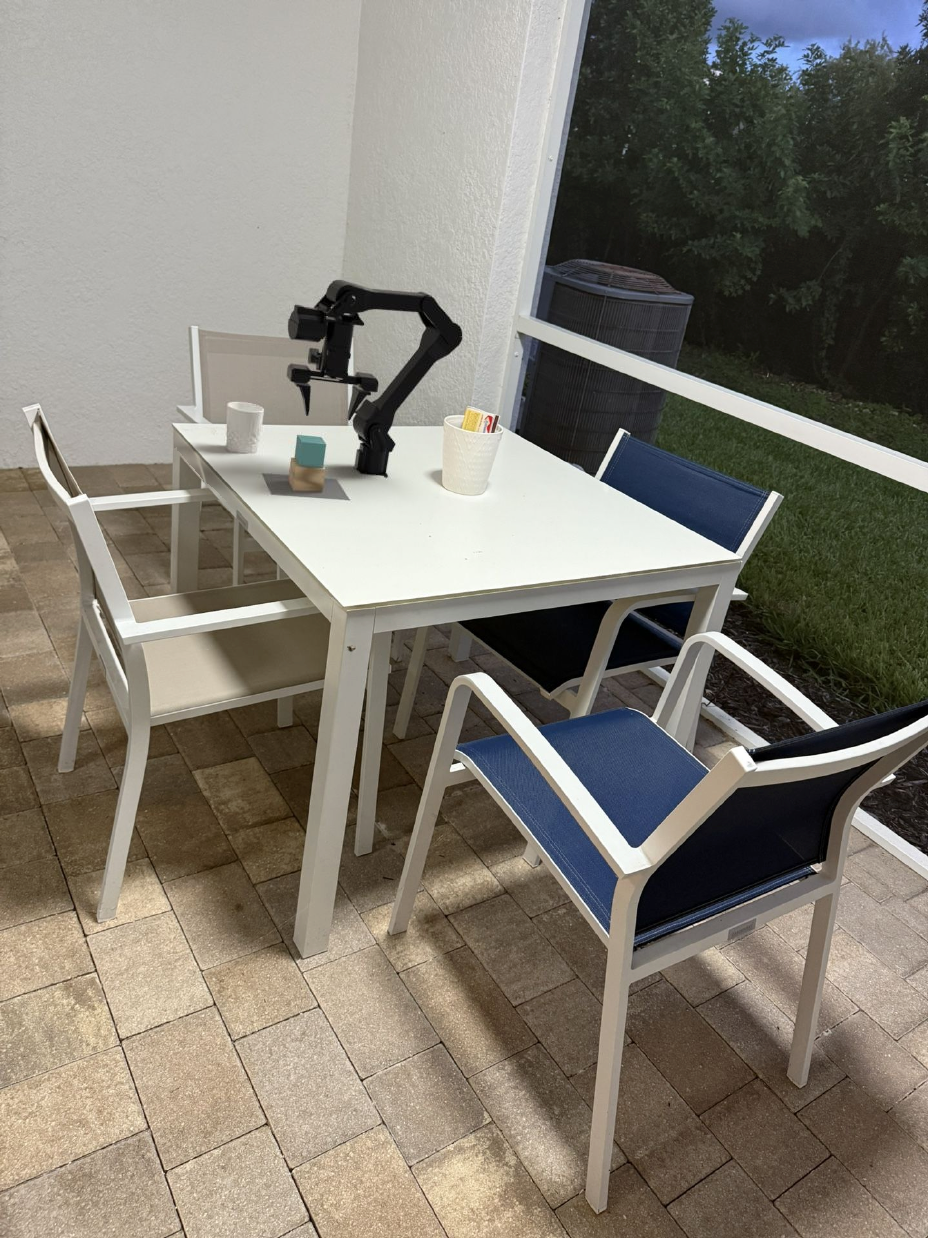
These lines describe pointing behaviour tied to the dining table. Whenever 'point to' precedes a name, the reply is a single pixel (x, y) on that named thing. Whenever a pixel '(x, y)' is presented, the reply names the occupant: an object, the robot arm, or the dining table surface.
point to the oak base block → (306, 477)
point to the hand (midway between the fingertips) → (327, 417)
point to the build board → (283, 487)
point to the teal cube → (310, 451)
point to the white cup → (243, 427)
